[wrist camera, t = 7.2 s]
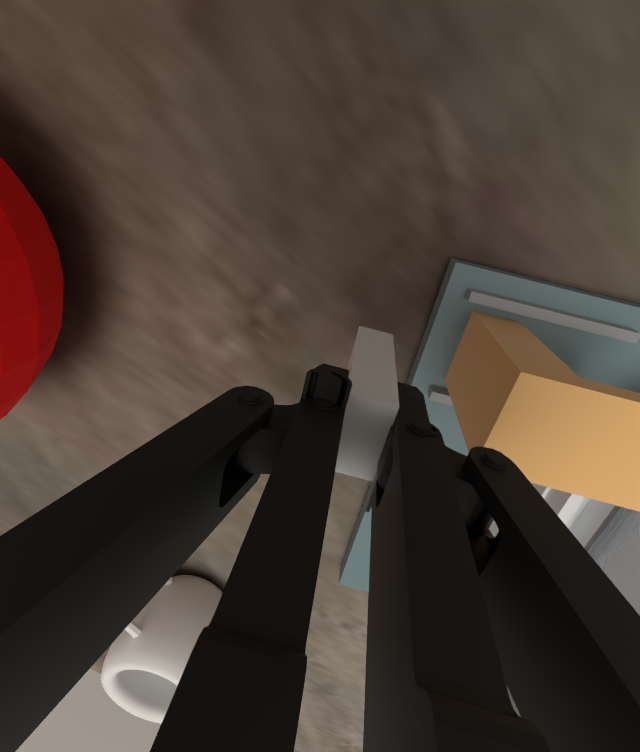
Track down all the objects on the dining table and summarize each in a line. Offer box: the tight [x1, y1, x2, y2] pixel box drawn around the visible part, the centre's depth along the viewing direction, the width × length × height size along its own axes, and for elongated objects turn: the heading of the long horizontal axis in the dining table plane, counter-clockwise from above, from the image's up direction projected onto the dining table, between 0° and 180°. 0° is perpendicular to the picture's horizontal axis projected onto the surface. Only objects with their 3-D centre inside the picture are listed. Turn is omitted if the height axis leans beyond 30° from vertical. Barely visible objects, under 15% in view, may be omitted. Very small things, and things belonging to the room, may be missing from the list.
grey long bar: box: [506, 507, 640, 708], centre depth 19 cm, size 19×3×1 cm, turn 168°
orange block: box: [445, 310, 640, 512], centre depth 17 cm, size 4×6×8 cm, turn 78°
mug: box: [101, 575, 222, 724], centre depth 31 cm, size 12×8×8 cm
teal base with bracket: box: [339, 258, 640, 593], centre depth 21 cm, size 24×22×9 cm
